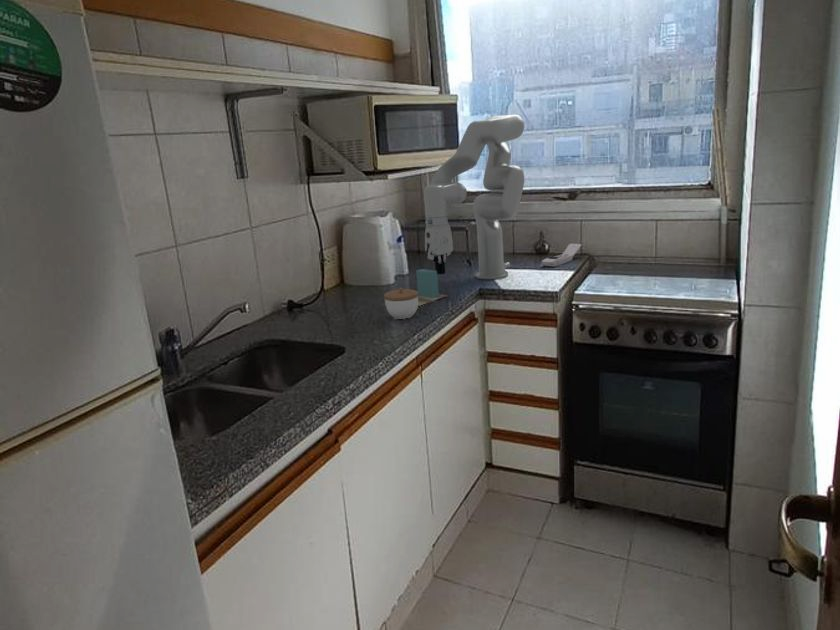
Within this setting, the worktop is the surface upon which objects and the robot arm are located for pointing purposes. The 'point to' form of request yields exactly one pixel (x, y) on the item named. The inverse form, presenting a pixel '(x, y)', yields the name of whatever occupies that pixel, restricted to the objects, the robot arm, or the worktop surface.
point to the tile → (427, 283)
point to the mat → (427, 299)
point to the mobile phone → (562, 256)
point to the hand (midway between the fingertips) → (440, 273)
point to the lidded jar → (401, 303)
